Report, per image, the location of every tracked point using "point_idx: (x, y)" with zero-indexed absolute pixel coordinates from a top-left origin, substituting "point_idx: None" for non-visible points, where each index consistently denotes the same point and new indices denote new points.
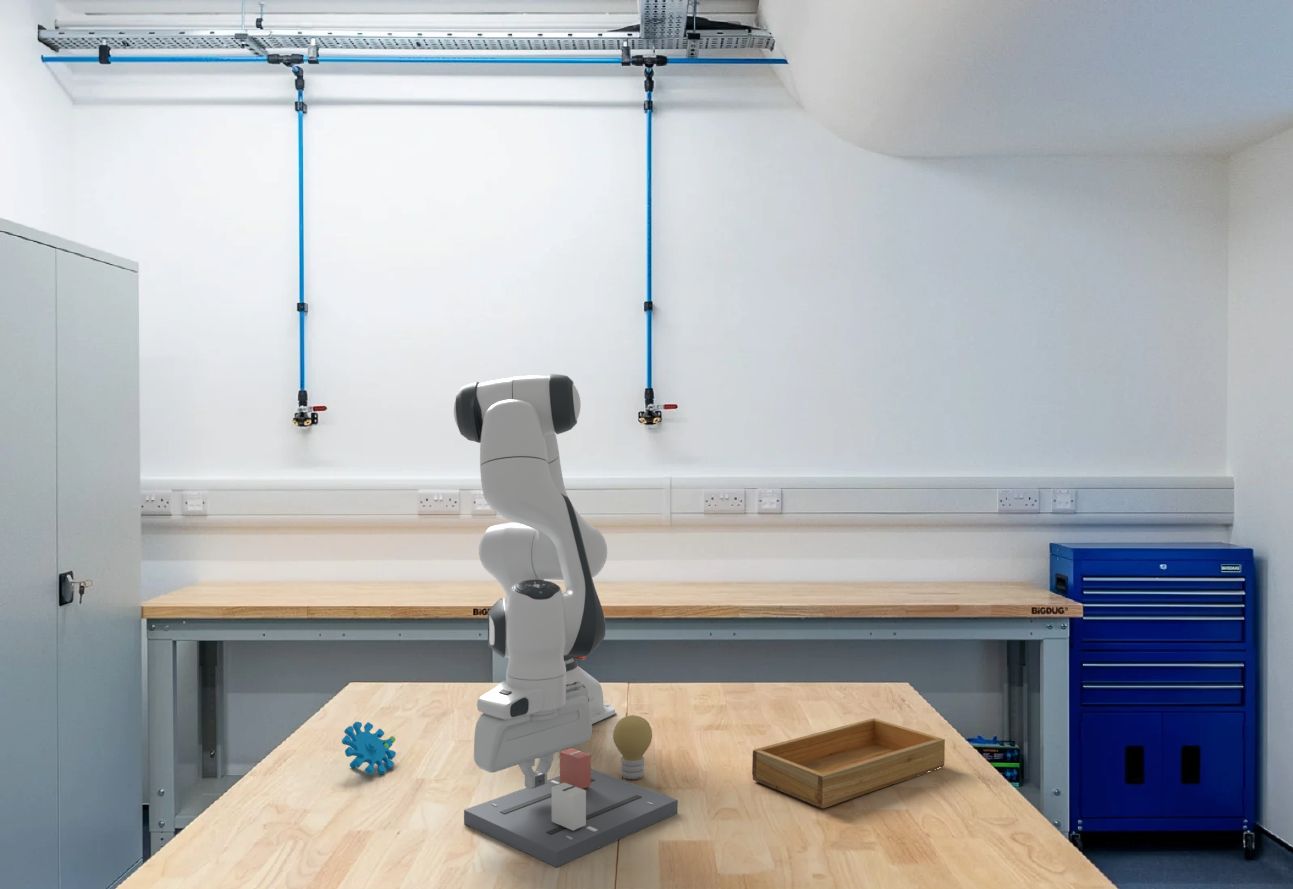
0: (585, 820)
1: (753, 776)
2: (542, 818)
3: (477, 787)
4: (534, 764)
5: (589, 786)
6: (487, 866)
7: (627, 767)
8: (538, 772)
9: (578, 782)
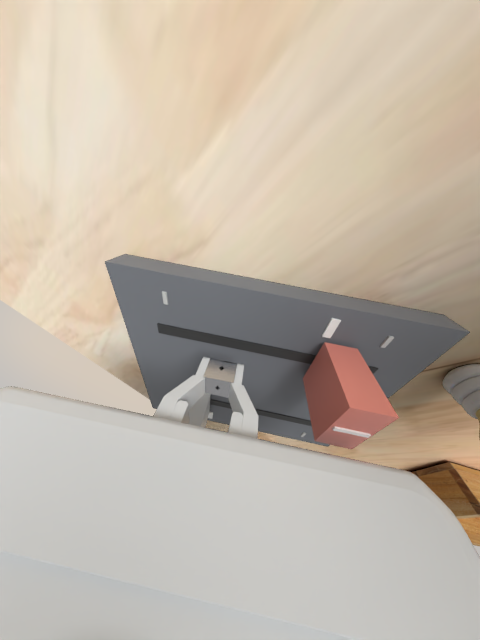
0: (207, 418)
1: (451, 468)
2: (192, 374)
3: (294, 48)
4: (188, 423)
5: None
6: (107, 354)
7: (461, 395)
8: (226, 388)
9: (305, 389)
